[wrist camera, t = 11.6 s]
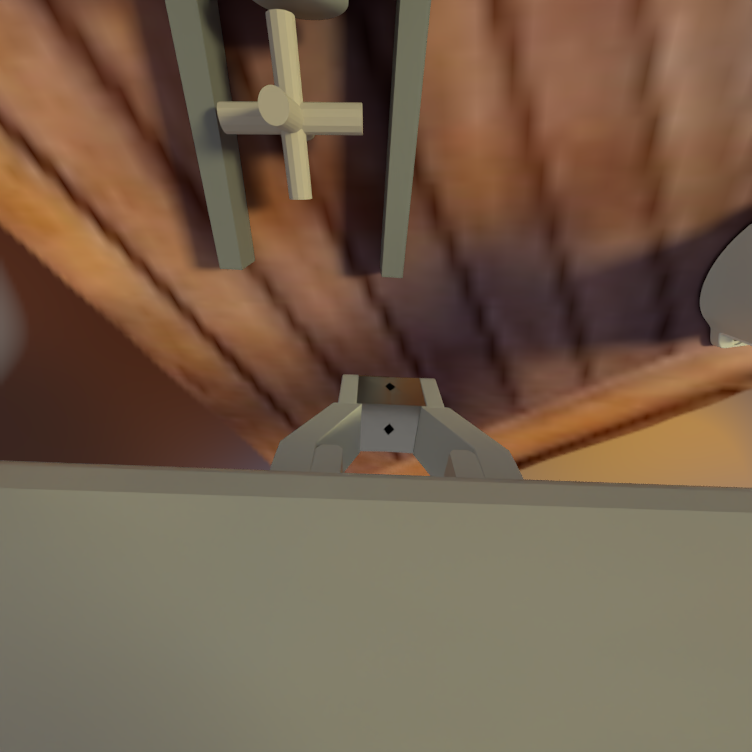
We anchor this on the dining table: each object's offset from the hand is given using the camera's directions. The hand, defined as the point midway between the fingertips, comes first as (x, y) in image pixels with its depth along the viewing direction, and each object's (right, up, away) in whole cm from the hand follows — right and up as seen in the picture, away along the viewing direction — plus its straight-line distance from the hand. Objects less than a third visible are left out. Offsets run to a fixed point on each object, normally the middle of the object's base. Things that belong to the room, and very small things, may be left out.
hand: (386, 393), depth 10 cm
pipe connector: (-6, +22, +16) cm, 28 cm away
